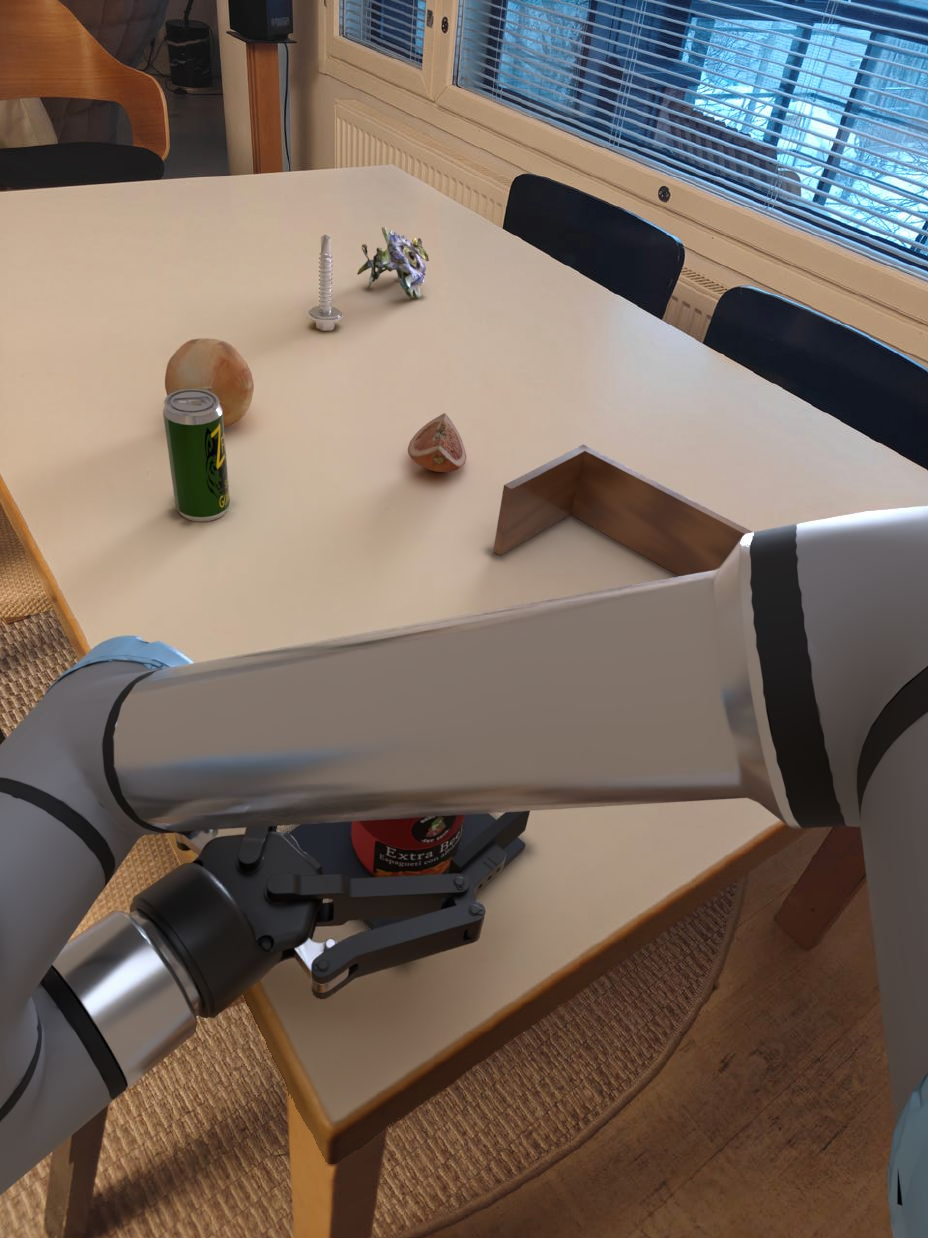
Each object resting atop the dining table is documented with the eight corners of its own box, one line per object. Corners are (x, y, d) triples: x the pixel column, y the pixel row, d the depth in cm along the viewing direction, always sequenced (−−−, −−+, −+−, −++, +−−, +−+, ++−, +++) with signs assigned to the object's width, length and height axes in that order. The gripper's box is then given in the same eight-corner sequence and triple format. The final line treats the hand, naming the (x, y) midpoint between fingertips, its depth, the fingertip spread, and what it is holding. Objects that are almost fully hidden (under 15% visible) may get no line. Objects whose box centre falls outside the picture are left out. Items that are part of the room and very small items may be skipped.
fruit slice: (461, 491, 96) (466, 451, 93) (401, 482, 96) (404, 443, 92) (467, 453, 102) (472, 415, 99) (411, 445, 102) (414, 407, 99)
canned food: (373, 906, 56) (380, 802, 49) (335, 810, 61) (337, 704, 54) (479, 870, 59) (501, 767, 52) (434, 782, 64) (448, 677, 57)
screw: (304, 321, 126) (336, 319, 128) (314, 335, 123) (346, 333, 124) (303, 228, 117) (337, 227, 119) (313, 240, 114) (348, 239, 116)
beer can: (174, 524, 85) (160, 415, 78) (176, 494, 89) (162, 387, 82) (230, 522, 87) (221, 414, 79) (230, 493, 91) (221, 387, 83)
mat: (524, 848, 61) (526, 843, 61) (404, 960, 54) (404, 955, 54) (406, 751, 67) (407, 746, 66) (283, 841, 59) (282, 836, 59)
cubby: (760, 615, 85) (789, 550, 79) (693, 677, 77) (720, 609, 72) (569, 507, 96) (583, 444, 90) (492, 551, 88) (503, 484, 83)
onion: (173, 447, 96) (163, 362, 90) (166, 405, 103) (156, 324, 97) (261, 441, 99) (257, 359, 93) (248, 400, 106) (244, 321, 100)
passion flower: (412, 329, 141) (426, 286, 130) (347, 310, 139) (355, 265, 128) (424, 271, 144) (439, 224, 133) (361, 251, 142) (370, 202, 131)
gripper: (55, 854, 53) (323, 689, 65) (320, 1183, 41) (583, 905, 54) (27, 776, 48) (323, 615, 61) (320, 1125, 36) (609, 834, 49)
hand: (446, 751), depth 57 cm, fingers open, 13 cm apart
